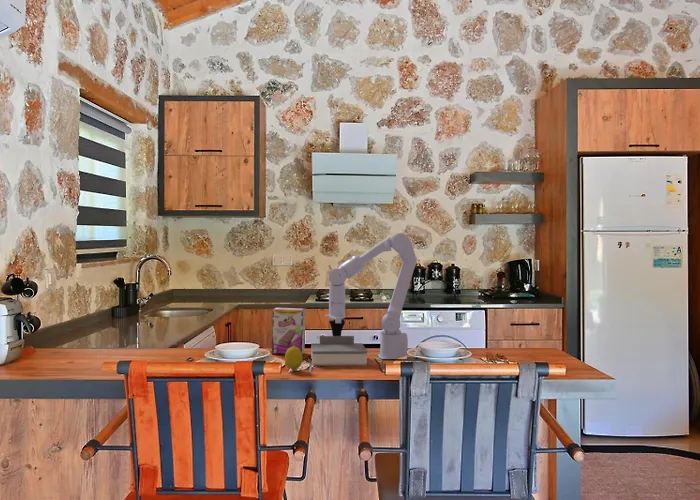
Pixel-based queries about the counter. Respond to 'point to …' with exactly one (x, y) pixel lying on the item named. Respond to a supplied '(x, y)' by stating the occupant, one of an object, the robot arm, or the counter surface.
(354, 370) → the counter surface
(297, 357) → the lemon
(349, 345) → the lid
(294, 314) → the candy bar box
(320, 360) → the mailer box
